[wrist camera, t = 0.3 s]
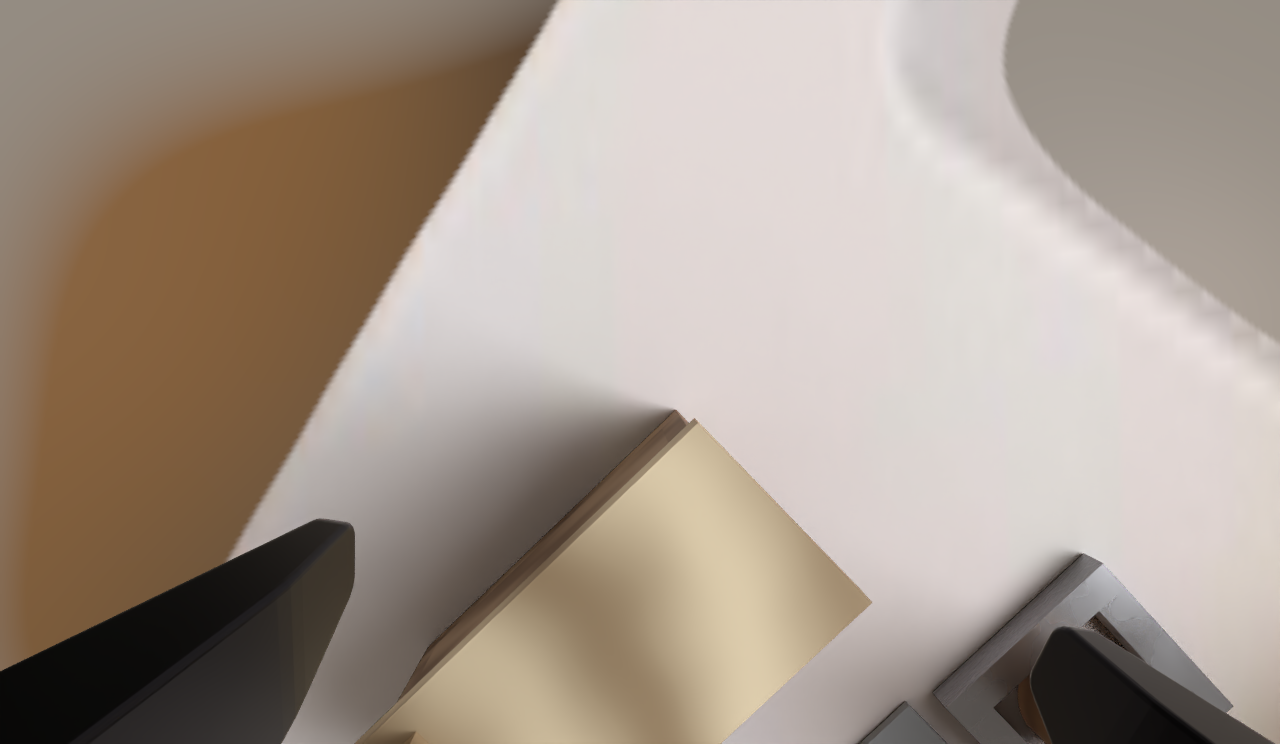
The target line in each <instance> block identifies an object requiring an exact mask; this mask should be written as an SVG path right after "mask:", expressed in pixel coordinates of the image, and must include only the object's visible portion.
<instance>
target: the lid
mask: <svg viewBox="0 0 1280 744" xmlns="http://www.w3.org/2000/svg"><path fill="white" fill-rule="evenodd" d="M871 603H872V602H871V601H870V599H869V598H868V597H867V596H866V595H865V594H864V593H863V592H862V591H861V589H860V588H859V587H858V586H857V585H856V584H855V583H854V582H853V581H852V580H851V579H850V578H849V577H848V576H847V575H846V574H845V573H844V572H843V571H842V570H841V569H840V568H839V567H838V566H837V565H836V564H835V563H834V562H833V561H832V560H831V558H830V557H829V556H828V555H827V554H826V553H825V552H824V551H823V550H822V549H821V548H820V547H819V546H818V545H817V544H816V543H815V542H814V541H813V540H812V539H811V538H810V537H809V536H808V535H807V534H806V533H805V532H804V531H803V530H802V529H801V527H800V526H799V525H798V524H797V523H796V522H795V521H794V520H793V519H792V518H791V517H790V516H789V515H788V514H787V513H786V512H785V511H784V510H783V509H782V508H781V507H780V506H779V505H778V504H777V503H776V502H775V501H774V500H773V499H772V497H771V496H770V495H769V494H768V493H767V492H766V491H765V490H764V489H763V488H762V487H761V486H760V485H759V484H758V483H757V482H756V481H755V480H754V479H753V478H752V477H751V476H750V475H749V474H748V473H747V472H746V471H745V470H744V469H743V468H742V466H741V465H740V464H739V463H738V462H737V461H736V460H735V459H734V458H733V457H732V456H731V455H730V454H729V453H728V452H727V451H726V450H725V449H724V448H723V447H722V446H721V445H720V444H719V443H718V442H717V441H716V440H715V439H714V438H713V437H712V435H711V434H710V433H709V432H708V431H707V430H706V429H705V428H704V427H703V426H702V425H701V424H700V423H699V422H698V421H697V420H696V419H695V418H694V419H693V420H692V421H691V422H690V423H689V424H688V425H687V426H686V427H685V428H684V429H683V430H681V431H680V432H679V433H678V434H677V435H676V436H675V437H674V438H673V439H672V440H671V441H670V442H669V443H668V444H667V445H666V446H665V447H664V448H663V449H662V450H661V451H660V452H658V453H657V454H656V455H655V456H654V457H653V458H652V459H651V460H650V461H649V462H648V463H647V464H646V465H645V466H644V467H643V468H642V469H641V470H640V471H639V472H638V473H637V474H635V475H634V476H633V477H632V478H631V479H630V480H629V481H628V482H627V483H626V484H625V485H624V486H623V487H622V488H621V489H620V490H619V491H618V492H617V493H616V494H615V495H614V496H613V497H611V498H610V499H609V500H608V501H607V502H606V503H605V504H604V505H603V506H602V507H601V508H600V509H599V510H598V511H597V512H596V513H595V514H594V515H593V516H592V517H591V518H590V519H588V520H587V521H586V522H585V523H584V524H583V525H582V526H581V527H580V528H579V529H578V530H577V531H576V532H575V533H574V534H573V535H572V536H571V537H570V538H569V539H568V540H567V541H565V542H564V543H563V544H562V545H561V546H560V547H559V548H558V549H557V550H556V551H555V552H554V553H553V554H552V555H551V556H550V557H549V558H548V559H547V560H546V561H545V562H544V563H542V564H541V565H540V566H539V567H538V568H537V569H536V570H535V571H534V572H533V573H532V574H531V575H530V576H529V577H528V578H527V579H526V580H525V581H524V582H523V583H522V584H521V585H519V586H518V587H517V588H516V589H515V590H514V591H513V592H512V593H511V594H510V595H509V596H508V597H507V598H506V599H505V600H504V601H503V602H502V603H501V604H500V605H499V606H498V607H496V608H495V609H494V610H493V611H492V612H491V613H490V614H489V615H488V616H487V617H486V618H485V619H484V620H483V621H482V622H481V623H480V624H479V625H478V626H477V627H476V628H475V629H473V630H472V631H471V632H470V633H469V634H468V635H467V636H466V637H465V638H464V639H463V640H462V641H461V642H460V643H459V644H458V645H457V646H456V647H455V648H454V649H453V650H452V651H450V652H449V653H448V654H447V655H446V656H445V657H444V658H443V659H442V660H441V661H440V662H439V663H438V664H437V665H436V666H435V667H434V668H433V669H432V670H431V671H430V672H429V673H427V674H426V675H425V676H424V677H423V678H422V679H421V680H420V681H419V682H418V683H417V684H416V685H415V686H414V687H413V688H412V689H411V690H410V691H409V692H408V693H407V694H406V695H404V696H403V697H402V698H401V699H400V700H399V701H398V702H397V703H396V704H395V705H394V706H393V707H392V708H391V709H390V710H389V711H388V712H387V713H386V714H385V715H384V716H383V717H381V718H380V719H379V720H378V721H377V722H376V723H375V724H374V725H373V726H372V727H371V728H370V729H369V730H368V731H367V732H366V733H365V734H364V735H363V736H362V737H361V738H360V739H358V740H357V741H356V742H355V743H354V744H721V743H722V742H723V741H724V740H725V739H726V738H727V737H728V736H729V735H730V734H732V733H733V732H734V731H735V730H736V729H737V728H738V727H739V726H740V725H741V724H742V723H743V722H744V721H746V720H747V719H748V718H749V717H750V716H751V715H752V714H753V713H754V712H755V711H756V710H757V709H758V708H759V707H761V706H762V705H763V704H764V703H765V702H766V701H767V700H768V699H769V698H770V697H771V696H772V695H773V694H775V693H776V692H777V691H778V690H779V689H780V688H781V687H782V686H783V685H784V684H785V683H786V682H787V681H789V680H790V679H791V678H792V677H793V676H794V675H795V674H796V673H797V672H798V671H799V670H800V669H801V668H802V667H804V666H805V665H806V664H807V663H808V662H809V661H810V660H811V659H812V658H813V657H814V656H815V655H816V654H818V653H819V652H820V651H821V650H822V649H823V648H824V647H825V646H826V645H827V644H828V643H829V642H830V641H831V640H833V639H834V638H835V637H836V636H837V635H838V634H839V633H840V632H841V631H842V630H843V629H844V628H845V627H847V626H848V625H849V624H850V623H851V622H852V621H853V620H854V619H855V618H856V617H857V616H858V615H859V614H860V613H862V612H863V611H864V610H865V609H866V608H867V607H868V606H869V605H870V604H871Z"/></svg>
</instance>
